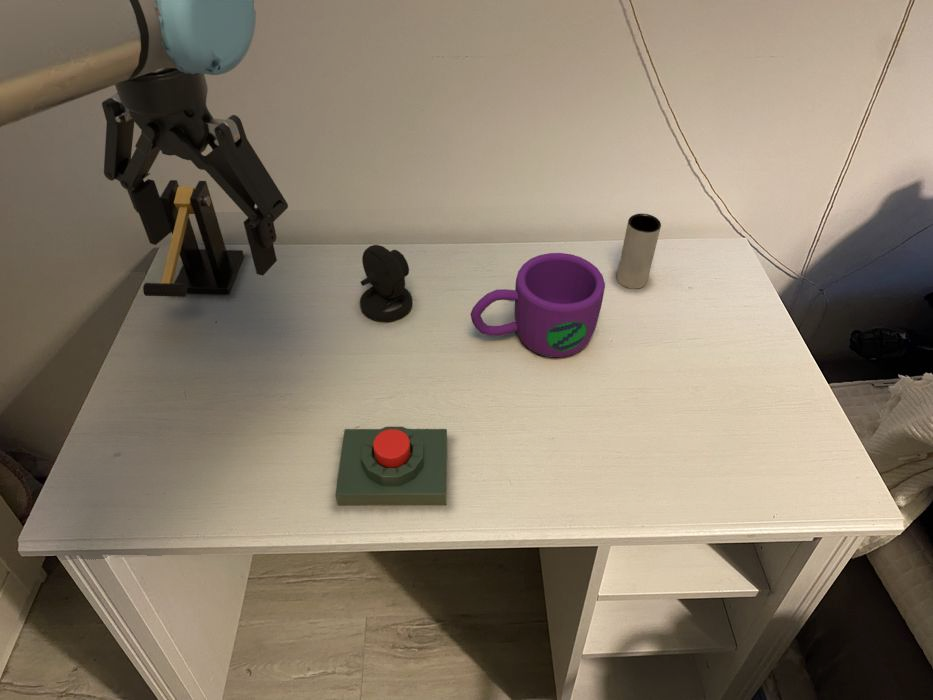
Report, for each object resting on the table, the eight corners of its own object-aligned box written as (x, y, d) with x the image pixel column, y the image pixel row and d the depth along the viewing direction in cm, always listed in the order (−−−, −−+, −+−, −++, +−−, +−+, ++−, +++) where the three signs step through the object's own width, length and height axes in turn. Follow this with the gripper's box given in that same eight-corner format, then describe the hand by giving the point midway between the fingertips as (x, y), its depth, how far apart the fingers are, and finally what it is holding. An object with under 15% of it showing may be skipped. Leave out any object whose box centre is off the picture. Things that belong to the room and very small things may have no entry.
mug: (581, 302, 103) (590, 246, 95) (606, 358, 95) (618, 302, 88) (462, 316, 100) (463, 260, 93) (478, 375, 92) (479, 319, 85)
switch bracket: (229, 294, 103) (203, 209, 92) (174, 293, 103) (142, 207, 93) (244, 256, 109) (221, 171, 99) (192, 254, 109) (164, 170, 99)
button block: (337, 505, 79) (333, 485, 76) (346, 440, 85) (342, 419, 82) (446, 505, 79) (445, 484, 76) (447, 440, 85) (446, 419, 82)
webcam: (424, 306, 102) (421, 251, 94) (383, 331, 98) (377, 275, 91) (389, 281, 106) (385, 225, 98) (349, 303, 102) (341, 247, 95)
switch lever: (186, 300, 92) (179, 291, 90) (148, 299, 92) (140, 290, 90) (209, 198, 99) (203, 187, 96) (173, 197, 99) (167, 186, 96)
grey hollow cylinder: (613, 270, 108) (624, 214, 100) (642, 268, 108) (655, 212, 101) (621, 290, 105) (633, 233, 97) (650, 288, 105) (665, 231, 98)
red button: (373, 467, 78) (371, 458, 77) (376, 438, 81) (374, 429, 79) (409, 467, 78) (408, 458, 77) (411, 438, 81) (410, 428, 79)
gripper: (301, 62, 61) (332, 259, 76) (71, 18, 67) (142, 208, 82) (251, 100, 56) (294, 303, 71) (8, 48, 62) (95, 244, 77)
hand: (212, 252), depth 77 cm, fingers open, 13 cm apart
